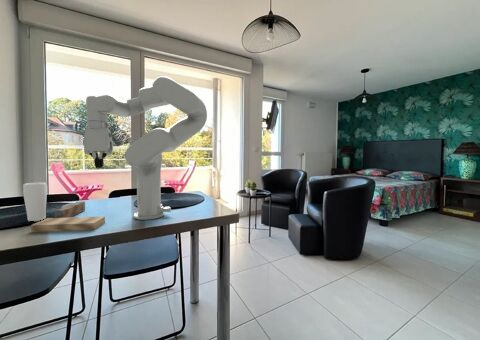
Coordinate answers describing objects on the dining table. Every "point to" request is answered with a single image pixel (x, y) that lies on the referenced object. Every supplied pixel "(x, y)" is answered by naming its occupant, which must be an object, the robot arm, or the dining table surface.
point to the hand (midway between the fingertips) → (99, 167)
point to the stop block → (66, 205)
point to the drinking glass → (35, 200)
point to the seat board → (68, 224)
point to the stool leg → (70, 210)
